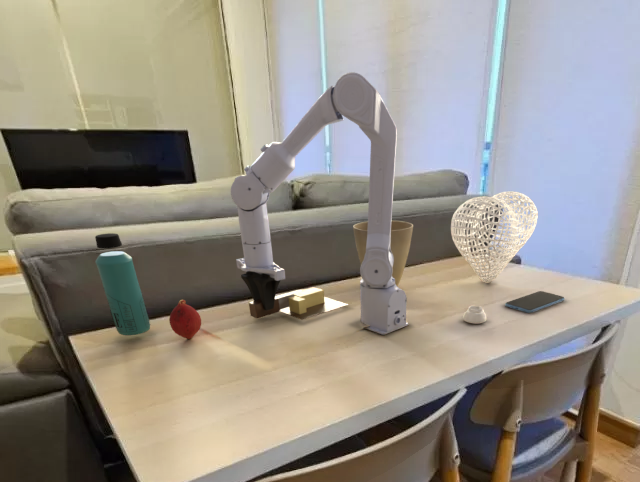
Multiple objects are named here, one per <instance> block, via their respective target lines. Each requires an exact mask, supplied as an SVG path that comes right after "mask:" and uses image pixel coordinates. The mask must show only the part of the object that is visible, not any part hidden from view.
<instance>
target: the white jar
mask: <svg viewBox="0 0 640 482" xmlns="http://www.w3.org/2000/svg"><path fill="white" fill-rule="evenodd" d="M487 318H488V317H487V315H486V312H485V311H484V308H483V306H480V305H469V306H468V309H466V311H465V312H464V314H463V316H462V320H463V321H464V322H466V323H468V324H474V325H476V324H479V325H480V324H483V323H485V322H487Z"/></svg>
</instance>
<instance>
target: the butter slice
mask: <svg viewBox="0 0 640 482" xmlns="http://www.w3.org/2000/svg"><path fill="white" fill-rule="evenodd" d="M289 308H290V311H292V312H295V313H297V314H302V313H306V312H307V311H306V299H303V298H300V297H297V296H293V297H290V298H289Z"/></svg>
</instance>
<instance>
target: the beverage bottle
mask: <svg viewBox="0 0 640 482" xmlns="http://www.w3.org/2000/svg"><path fill="white" fill-rule="evenodd" d="M94 239H95V243H96V248H97V249H115V248H119V247H122V246H123V243H122V241H121V237H120V235H119V234H118V233H113V232H110V233H109V232H108V233H100V234H96V235H95V236H94ZM95 265H96V267H97V271H98V274H99V277H100V280H101V284H102V289H103V291H104V294H105V296H106V302H107V304H108V307H109V312H110V315H111V318H112V322H113V325H114V327H115V328H114V329H115V330H116V331H117V333H118V334H119V335H121V336H135V335H136V336H137V335H141V334H145V333H146V332H148V331H149V330H151V325H152V323H151V321H150V318H149V313H148V308H147V307H146V303H145V300H144V294H143V292H142V288H141V286H140V284H139V280H138V277H137V272H136V269H135V265H134V261H133V257H132V256H131V255H130V254H128V253H126V252H125V251H123V250H122V251H121V250H119V251H118V250H115V251H114V250H113V251H106V252H103V253H99V255H98V256H97V258H96V259H95Z"/></svg>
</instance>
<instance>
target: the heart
mask: <svg viewBox="0 0 640 482" xmlns="http://www.w3.org/2000/svg"><path fill="white" fill-rule="evenodd" d="M511 201H512V202H511ZM525 204H526V205H525ZM502 209H503V210H502ZM495 211H496V212H495ZM486 214H487V215H486ZM496 218H497V219H498V221H495V219H496ZM538 218H539V213H538V208H537V206H536V205H535V203H534V201H533V200H532V199H531V198H530V197H529V196H528V195H526V194H524V193H522V192H519V191H512V190H511V191H510V190H509V191H508V190H507V191H502V192H499V193H496V194H494V195H492V196H486V195H485V196H484V195H483V196H475V197H472V198H470V199H467V200H465V201H464V202H463V203H461V204H460V205H459V206H458V207H457V209H455V211H454V213H453V215H452V217H451V220H450V221H451V222H450V234H451V239H452V241H453V244H454V245H455V248H456V249H457V250H458V252H459V254H460V255H461V257H462V258H463V259H464V260H465V261H466V262H467V264H468V265H469V266H470V268H471V269H472V270H473V272H474V273H475V275H476V277H478V279H479V280H480V281H481V282H483V283H485V284H490V283H491V282H493V281H495V280H496V279H497V278H498V277H499V275H501V273H502V272H503V271H504V269H505V268H506V267H507V266H508V264H509V263H510V262H511V261H512V259H514V257H515V256H516V255H517V254H518V252H519V251H520V250H521V249H522V248H523V247H524V246H525V245H526V243H527V242H528V241H529V239H530V238H531V237H532V235H533V233H534V232H535V229H536V226H537V223H538ZM490 219H491V220H490ZM494 226H496V227H494ZM499 227H501V228H499ZM493 230H494V231H493ZM499 231H500V232H499ZM484 235H485V236H484ZM491 236H492V237H491ZM492 242H493V243H492ZM485 243H486V244H487V245H486V244H485ZM490 248H491V249H490ZM471 250H472V251H471ZM488 258H489V259H488Z"/></svg>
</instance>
